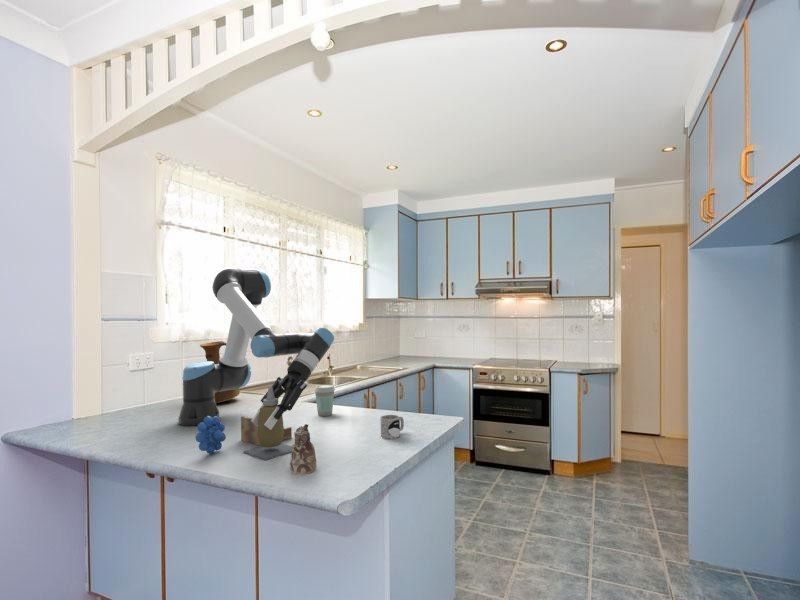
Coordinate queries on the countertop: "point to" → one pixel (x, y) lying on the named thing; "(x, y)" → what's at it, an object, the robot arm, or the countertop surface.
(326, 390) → the coffee cup
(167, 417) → the countertop surface
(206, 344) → the ceramic pitcher
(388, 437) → the mug
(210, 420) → the grapes
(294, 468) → the figurine
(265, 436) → the squeeze bottle
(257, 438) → the brown wooden frame
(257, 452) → the rubber mat
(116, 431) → the countertop surface
